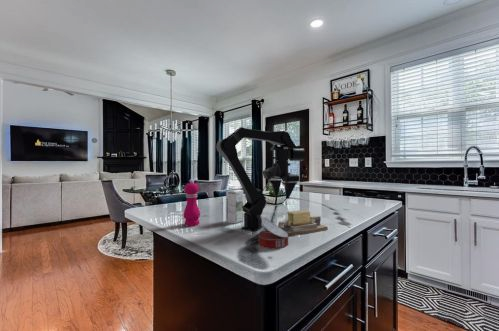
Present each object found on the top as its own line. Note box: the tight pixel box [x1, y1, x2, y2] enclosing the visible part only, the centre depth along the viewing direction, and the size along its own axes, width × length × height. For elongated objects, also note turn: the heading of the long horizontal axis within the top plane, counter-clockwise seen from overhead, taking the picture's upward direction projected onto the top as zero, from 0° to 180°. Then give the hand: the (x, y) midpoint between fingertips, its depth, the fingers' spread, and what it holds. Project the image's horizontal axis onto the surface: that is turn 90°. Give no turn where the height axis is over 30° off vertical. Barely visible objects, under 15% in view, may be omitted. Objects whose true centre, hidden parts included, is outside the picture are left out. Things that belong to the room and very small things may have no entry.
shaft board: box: [277, 215, 329, 237], centre depth 97 cm, size 10×20×4 cm, turn 115°
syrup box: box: [225, 188, 244, 224], centre depth 111 cm, size 6×6×14 cm
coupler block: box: [286, 209, 311, 227], centre depth 97 cm, size 4×8×6 cm, turn 115°
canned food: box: [258, 216, 289, 250], centre depth 81 cm, size 11×10×10 cm
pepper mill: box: [182, 178, 201, 227], centre depth 107 cm, size 7×7×20 cm
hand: (281, 197), depth 105 cm, fingers open, 9 cm apart
